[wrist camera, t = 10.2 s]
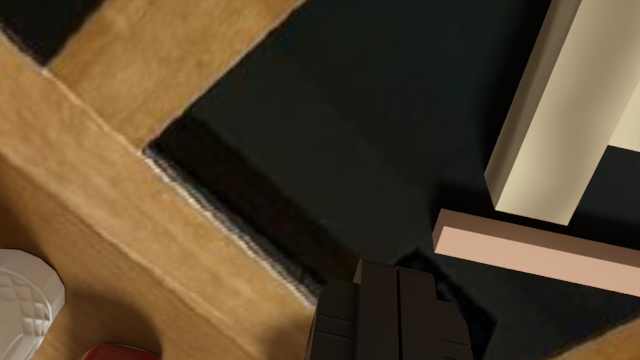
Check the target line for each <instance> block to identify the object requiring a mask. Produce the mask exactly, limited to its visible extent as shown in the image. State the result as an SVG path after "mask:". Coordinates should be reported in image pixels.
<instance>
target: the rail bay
mask: <svg viewBox="0 0 640 360" xmlns="http://www.w3.org/2000/svg"><path fill="white" fill-rule="evenodd" d="M432 235H433V244H434V252H435V253H440V254H444V255H449V256H454V257H458V258H463V259H468V260H472V261H477V262H482V263H486V264H491V265H496V266H500V267H505V268H510V269H514V270H519V271H524V272H528V273H533V274H538V275H542V276H547V277H552V278H556V279H561V280H566V281H570V282H575V283H580V284H584V285H589V286H594V287H598V288H603V289H608V290H612V291H617V292H622V293H626V294H631V295H636V296H640V251H637V250H633V249H628V248H623V247H619V246H614V245H609V244H605V243H600V242H595V241H591V240H586V239H581V238H577V237H572V236H567V235H563V234H558V233H553V232H549V231H544V230H539V229H535V228H530V227H525V226H521V225H516V224H511V223H507V222H502V221H497V220H493V219H488V218H484V217H479V216H474V215H470V214H465V213H460V212H456V211H451V210H446V209H442V208H441V211H440V213H439V216H438V219H437V222H436V225H435V228H434V231H433V233H432Z"/></svg>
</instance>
